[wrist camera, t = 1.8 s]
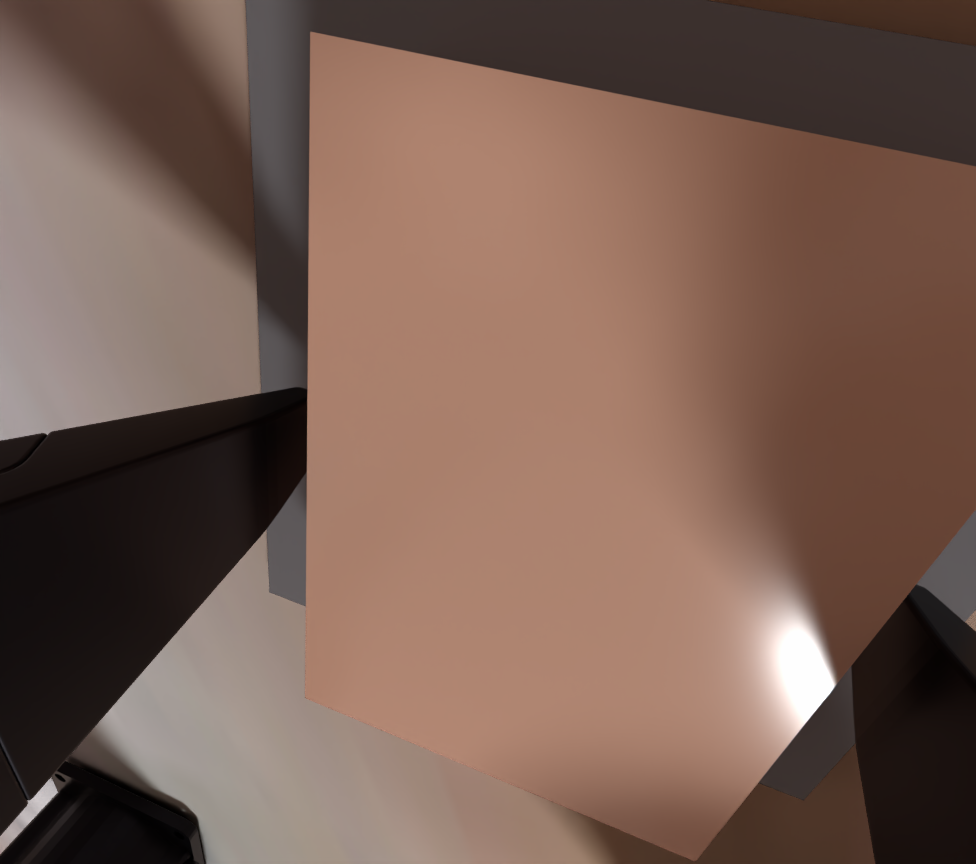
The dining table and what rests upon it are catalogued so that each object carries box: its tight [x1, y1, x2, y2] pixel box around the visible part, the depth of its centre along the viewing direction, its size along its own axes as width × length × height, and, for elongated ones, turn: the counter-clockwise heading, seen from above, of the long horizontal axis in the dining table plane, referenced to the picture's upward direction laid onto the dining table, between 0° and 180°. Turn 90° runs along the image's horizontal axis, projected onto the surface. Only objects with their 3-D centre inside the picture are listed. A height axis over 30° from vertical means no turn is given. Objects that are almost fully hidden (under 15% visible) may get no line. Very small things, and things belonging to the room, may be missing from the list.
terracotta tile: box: [305, 32, 976, 861], centre depth 8 cm, size 7×10×2 cm
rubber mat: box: [246, 0, 976, 800], centre depth 9 cm, size 12×12×1 cm
